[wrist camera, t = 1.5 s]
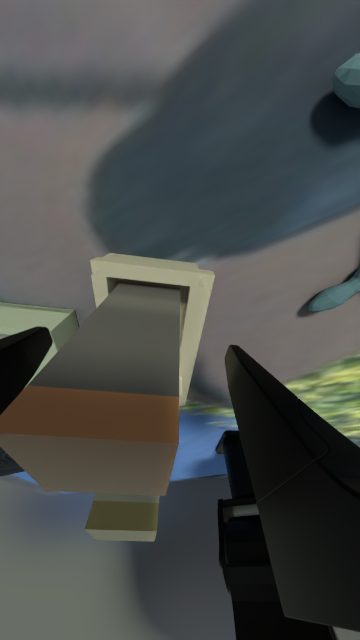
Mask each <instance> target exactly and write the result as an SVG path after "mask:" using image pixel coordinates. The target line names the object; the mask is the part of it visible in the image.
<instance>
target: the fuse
mask: <svg viewBox="0 0 360 640" xmlns="http://www.w3.org/2000/svg"><path fill="white" fill-rule="evenodd" d="M158 508H159V496H158V495H135V494H111V493H96V494H95V497H94V501H93V504H92V507H91V510H90V514H89V517H88V520H87V524H86V527H85V530H86V531H87V532H88V533H89V534H90V535H91V536H92V537H93V538H94V539H96V540H122V541H154V540H155V536H156V532H157V521H158Z"/></svg>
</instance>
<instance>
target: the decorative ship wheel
mask: <svg viewBox="0 0 360 640" xmlns="http://www.w3.org/2000/svg"><path fill="white" fill-rule="evenodd" d="M333 87H334V93H335V94H336V95H337V96H338V97H339V98H340V99H341V100H343V101H344V102H345V103H346V104H347V105H348V106H349V107H356V108H360V53H359V54H355V55H354V56H353V57H352V58H350V59H349V60H348V61H346V62H345V63H344V64H343V65H341V66H340V67H339V68H338V69H337V71H336V72H335V74H334V76H333ZM359 291H360V267H359V269H358V270H357V271H356V272H355V274H354V275H353V277H352V278H351V279H350V280H348V281H347V282H345V283H342V284H338V285H335V286H332V287H329V288H327V289H325V290H324V291H322V292H320V293H319V294H318V295H317V296H316V297H315V298H314V299H313V300H312V301H311V302H310V304H309V306H308V310H309V311H311V312H320V311H324V310H329V309H333V308H335V307H337V306H339V305H341V304H343V303H344V302H345V301H347V300H348V299H349V298H350V297H351V296H352V295H353V294H354V293H356V292H359Z"/></svg>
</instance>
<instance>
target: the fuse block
mask: <svg viewBox="0 0 360 640" xmlns="http://www.w3.org/2000/svg"><path fill="white" fill-rule="evenodd" d="M90 262H91V268H92V275H91V278H92V284H93V290H94V296H95V302H96V308H97V307H98V306H99V305H100V304H101V303H102V302H103V301H104V300H105V299H106V297H107V296H108V295H109V294H110V293H111V292H112V291H113V290H114V289H115V287H116V286H117V285H118V284H119V283H120V282H121V281H122V280H123V279H130V280H139V281H148V282H156V283H165V284H174V285H180V367H179V409H180V405H183V406H185V403H186V398H187V394H188V390H189V385H190V381H191V377H192V373H193V368H194V364H195V360H196V355H197V351H198V347H199V342H200V338H201V334H202V329H203V325H204V321H205V316H206V312H207V308H208V303H209V299H210V295H211V291H212V286H213V282H214V278H215V274H214V273H213V271H208V270H200V269H199V268H198V265H197V264H196V263H187V262H179V261H171V260H163V259H155V258H147V257H139V256H130V255H122V254H114V253H109V254H108V255H106V256H104V257H102V258H101V257H96V258H94V259H92V260H90Z"/></svg>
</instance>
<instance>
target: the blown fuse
mask: <svg viewBox="0 0 360 640" xmlns="http://www.w3.org/2000/svg"><path fill="white" fill-rule="evenodd" d="M179 367H180V285H174V284H165V283H156V282H148V281H139V280H130V279H123V280H122V281H121V282H120V283H119V284H118V285H117V286H116V287H115V289H114V290H113V291H112V292H111V293H110V294H109V295H108V296H107V297H106V299H105V300H104V301H103V302H102V303H101V304H100V305H99V306H98V307H97V309H96V310H95V311H94V312H93V313H92V314H91V315H90V316H89V317H88V319H87V320H86V321H85V322H84V323H83V324H82V325H81V326H80V327H79V328H78V330H77V331H76V332H75V333H74V334H73V335H72V336H71V337H70V338H69V340H68V341H67V342H66V343H65V344H64V345H63V346H62V347H61V348H60V350H59V351H58V352H57V353H56V354H55V355H54V356H53V357H52V358H51V360H50V361H49V362H48V363H47V364H46V365H45V366H44V367H43V368H42V370H41V371H40V372H39V373H38V374H37V375H36V376H35V377H34V378H33V380H32V381H31V382H30V383H29V384H28V385H27V386H26V387H25V388H24V390H23V391H22V392H21V393H20V394H19V395H18V396H17V397H16V398H15V400H14V401H13V402H12V403H11V404H10V405H9V406H8V407H7V408H6V410H5V411H4V412H3V413H2V414H1V415H0V447H1V448H2V449H3V450H4V451H5V452H6V453H7V454H8V455H9V456H10V457H11V458H12V459H13V460H14V461H15V462H16V463H17V464H19V465H20V466H21V467H22V468H23V469H24V470H25V471H26V472H27V473H28V474H29V475H30V476H31V477H32V478H33V479H34V480H35V481H36V482H37V483H38V484H39V485H40V486H41V487H42V488H43V489H44V490H45V491H64V492H88V493H111V494H135V495H158V496H160V495H161V496H165V495H166V492H167V488H168V484H169V480H170V476H171V472H172V468H173V464H174V460H175V456H176V452H177V448H178V444H179Z"/></svg>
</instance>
